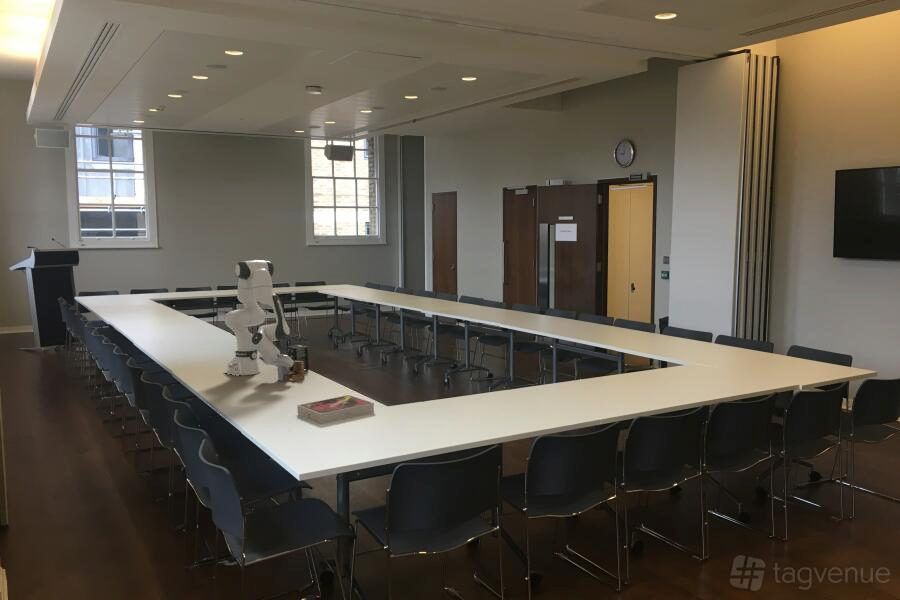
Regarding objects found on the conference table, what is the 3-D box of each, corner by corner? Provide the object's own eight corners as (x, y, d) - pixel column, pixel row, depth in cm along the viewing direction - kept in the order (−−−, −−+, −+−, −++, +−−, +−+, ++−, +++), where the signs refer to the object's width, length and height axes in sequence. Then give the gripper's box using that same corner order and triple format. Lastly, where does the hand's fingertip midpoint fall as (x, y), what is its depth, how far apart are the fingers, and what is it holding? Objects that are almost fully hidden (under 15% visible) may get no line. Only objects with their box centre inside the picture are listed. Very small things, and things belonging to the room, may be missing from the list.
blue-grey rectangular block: (278, 379, 411) (277, 359, 409) (285, 377, 416) (284, 357, 415) (282, 380, 409) (281, 359, 408) (290, 378, 414) (289, 357, 413)
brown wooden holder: (285, 380, 408) (284, 363, 407) (295, 377, 416) (294, 360, 415) (293, 381, 405) (293, 364, 404) (304, 378, 413) (303, 361, 412)
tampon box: (309, 370, 436) (308, 346, 435) (294, 372, 431) (293, 348, 429) (302, 367, 445) (301, 344, 444) (287, 369, 440) (286, 345, 438)
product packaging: (297, 415, 335) (297, 405, 335) (349, 404, 353) (348, 394, 353) (321, 425, 319) (320, 414, 318) (373, 413, 337) (373, 402, 336)
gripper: (288, 350, 399) (300, 364, 409) (260, 348, 409) (273, 362, 419) (283, 360, 396) (295, 374, 406) (255, 357, 406) (268, 371, 415)
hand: (284, 368), depth 412 cm, fingers closed on blue-grey rectangular block, 3 cm apart
